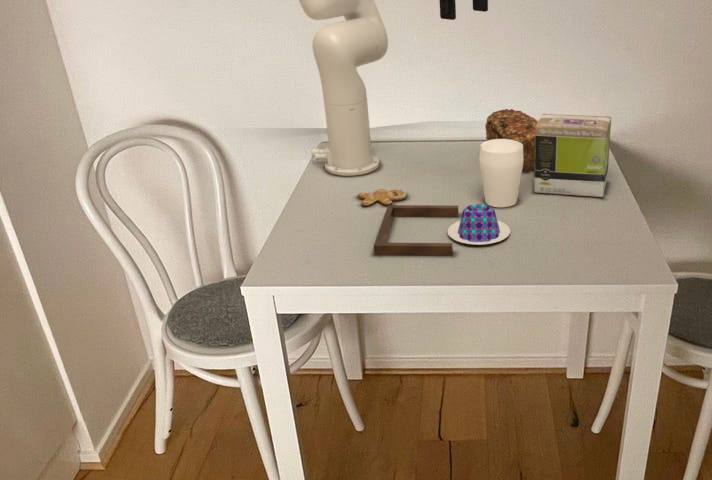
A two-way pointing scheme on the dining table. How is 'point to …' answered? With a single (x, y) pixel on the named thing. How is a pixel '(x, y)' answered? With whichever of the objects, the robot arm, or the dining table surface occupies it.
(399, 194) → the cookie
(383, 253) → the frame
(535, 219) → the dining table surface
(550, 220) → the dining table surface
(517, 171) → the cup
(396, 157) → the dining table surface
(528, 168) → the bread
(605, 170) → the tea box
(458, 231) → the pudding
